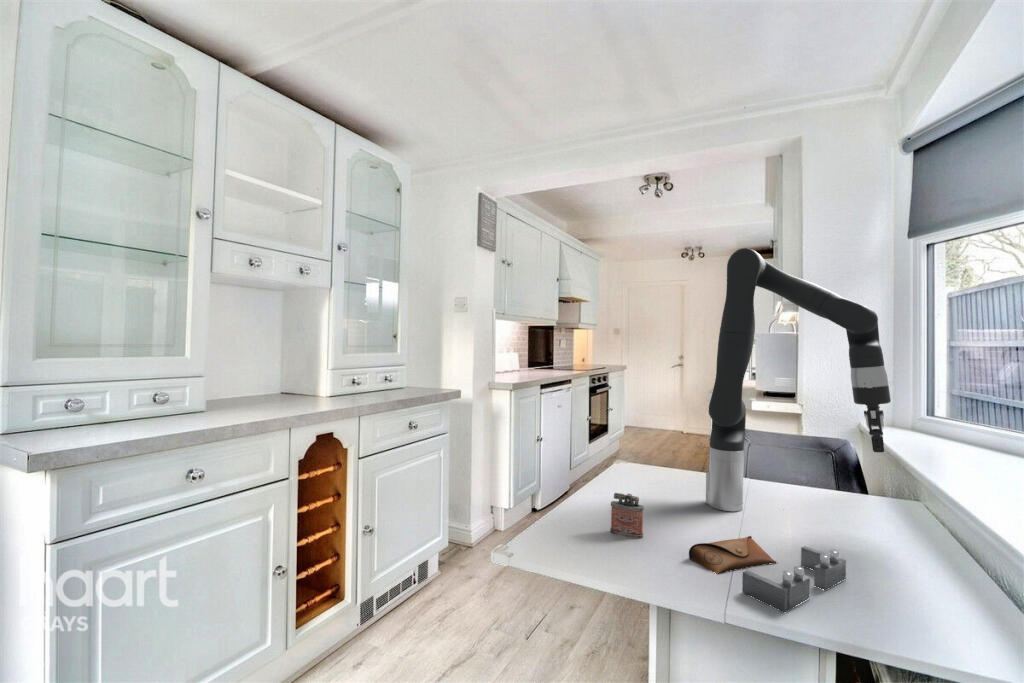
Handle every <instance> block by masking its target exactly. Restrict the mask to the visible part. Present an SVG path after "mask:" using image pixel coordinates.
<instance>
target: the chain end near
mask: <svg viewBox="0 0 1024 683" xmlns="http://www.w3.org/2000/svg"><path fill="white" fill-rule="evenodd" d="M804 568H805V567H802V566H801V565H800V566H799V565H794V566H793V572H791V571H788V570H787V571H786V570H783V571H782V580H781V581H780V582H776V581H774V580H772V579H769V578H767V577H764V576H762V575H760V574H757V573H755V572H752V571H750V570H748V569H746V570H743V571H742V578H741V579H742V588H741V589H742V590H741V591H742V592H741V594H744V595H746V596H748V595H749V596H748V597H750V596H752V597H754V598H755V600H756V599H758V600H760V601H759V602H761V601H762V602H761V603H763V602H764V603H763V604H765V603H766V604H765V605H767V604H768V605H767V606H769V605H771V606H772V607H771V606H770V607H771V608H773V607H774V608H773V609H775V608H776V609H775V610H777V609H779V610H778V611H780V612H782V611H783V612H782V613H784V612H786V613H787V612H789V611H791V610H793V609H794V608H793V607H795V606H796V605H798V604H800V603H801V602H803V601H805V600H807V599H808V598H809V599H810V593H811V590H810V585H811V582H810V581H811V578H810V577H807V576H805V569H804ZM752 597H751V598H752ZM754 598H753V599H754ZM758 600H757V601H758ZM800 605H801V604H800ZM792 608H793V609H792ZM795 608H796V607H795ZM790 609H791V610H790ZM788 610H789V611H788Z"/></svg>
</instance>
